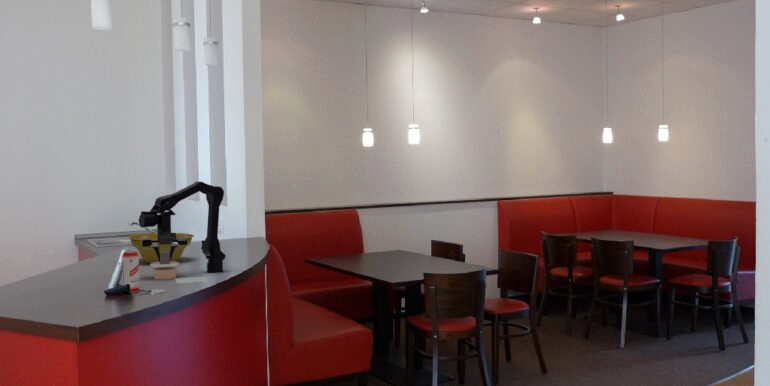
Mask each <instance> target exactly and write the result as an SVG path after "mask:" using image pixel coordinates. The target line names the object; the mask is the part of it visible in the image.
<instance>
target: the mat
mask: <svg viewBox="0 0 770 386" xmlns="http://www.w3.org/2000/svg"><path fill="white" fill-rule="evenodd" d="M174 281H175V282H176V284H187V283H188V284H189V283H190V284H191V283H206V282H210V281H209V279H208V278H207V277H206V276H197V277H196V276H195V277H193V276H192V277H181V278H180V277H179V278H178V277H176V278H174Z"/></svg>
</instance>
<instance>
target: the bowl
mask: <svg viewBox="0 0 770 386" xmlns="http://www.w3.org/2000/svg"><path fill="white" fill-rule="evenodd" d="M153 278H154V280H171V279H175V278H177V268H176V266H171V267H153Z"/></svg>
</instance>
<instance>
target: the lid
mask: <svg viewBox="0 0 770 386" xmlns="http://www.w3.org/2000/svg"><path fill="white" fill-rule="evenodd" d="M159 254H160V262H154V263H149V265H150V267H153V268H159V267H177V266H179V265H180V262H179V261H176V262H175V261H170V252H169V251H159Z"/></svg>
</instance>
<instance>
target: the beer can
mask: <svg viewBox="0 0 770 386" xmlns="http://www.w3.org/2000/svg"><path fill="white" fill-rule="evenodd" d="M139 255H140V254H139V252H138V251H137V250H125V251H123V254H122V256H121V278H122V280H121V282H122V283H121V284H122V285H126V284H129V285H130V293H131V294H136V293H138V292H139V291H140V256H139Z"/></svg>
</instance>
